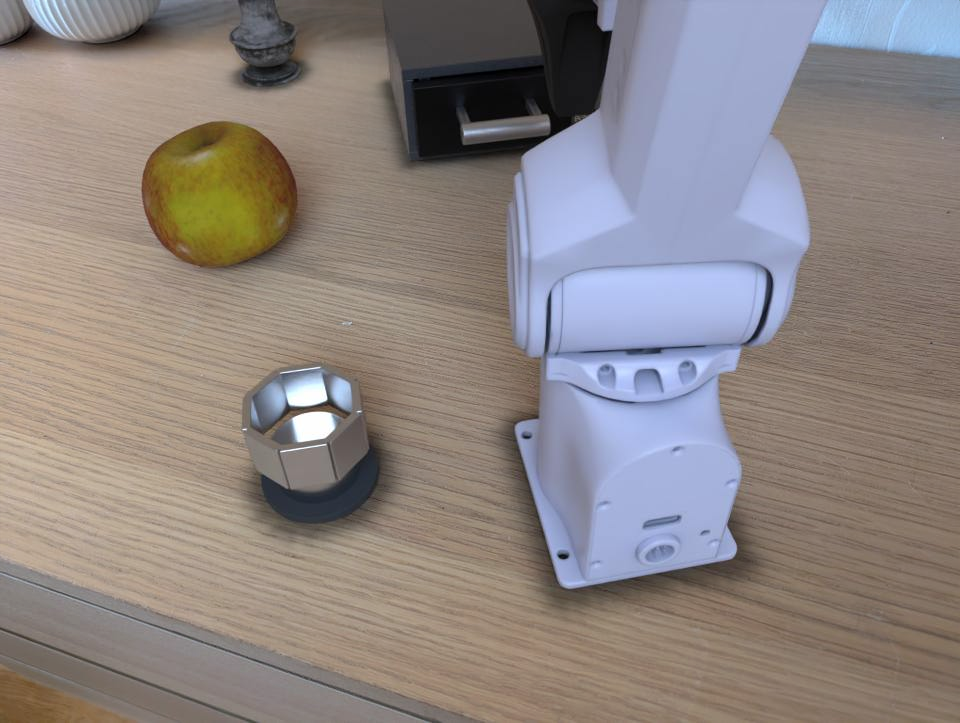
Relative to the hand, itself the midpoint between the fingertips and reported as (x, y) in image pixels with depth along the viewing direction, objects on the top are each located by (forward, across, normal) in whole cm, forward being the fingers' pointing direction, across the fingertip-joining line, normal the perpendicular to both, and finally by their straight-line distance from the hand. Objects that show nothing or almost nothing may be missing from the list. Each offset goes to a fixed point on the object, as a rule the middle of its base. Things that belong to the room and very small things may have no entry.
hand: (572, 110), depth 46 cm
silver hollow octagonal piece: (+9, -16, +16) cm, 25 cm away
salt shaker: (+9, +31, +19) cm, 38 cm away
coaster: (+9, -16, +16) cm, 25 cm away
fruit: (+10, +5, +21) cm, 24 cm away
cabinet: (+9, +20, +2) cm, 22 cm away
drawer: (+8, +16, +2) cm, 18 cm away
